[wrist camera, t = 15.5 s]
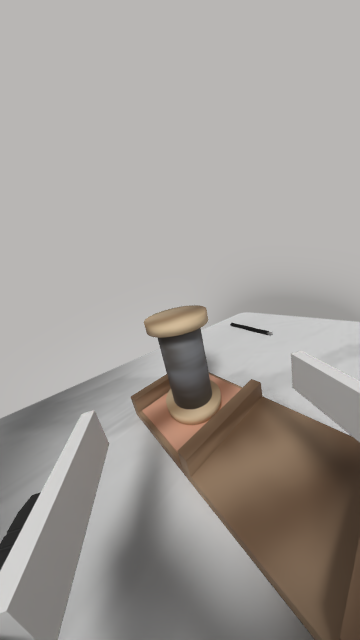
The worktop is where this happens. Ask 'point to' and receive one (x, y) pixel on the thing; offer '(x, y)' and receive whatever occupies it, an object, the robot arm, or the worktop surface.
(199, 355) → the cord spool
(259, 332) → the black pen
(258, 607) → the worktop surface
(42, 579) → the robot arm
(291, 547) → the slot cradle
